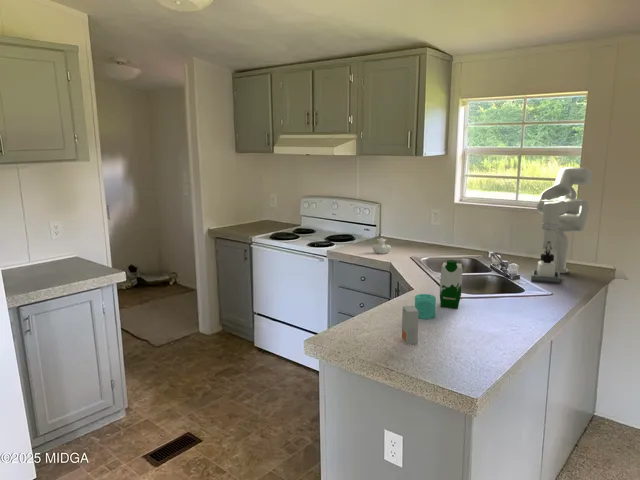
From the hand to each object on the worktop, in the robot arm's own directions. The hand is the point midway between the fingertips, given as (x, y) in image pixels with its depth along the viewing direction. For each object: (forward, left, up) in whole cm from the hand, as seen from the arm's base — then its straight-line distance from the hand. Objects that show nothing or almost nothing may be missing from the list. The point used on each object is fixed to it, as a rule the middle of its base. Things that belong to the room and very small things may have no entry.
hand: (547, 260), depth 245 cm
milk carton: (+62, -37, -10) cm, 73 cm away
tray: (0, 0, -10) cm, 10 cm away
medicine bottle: (0, 0, -9) cm, 9 cm away
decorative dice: (+79, -44, -10) cm, 91 cm away
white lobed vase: (-25, -95, -10) cm, 99 cm away
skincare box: (+107, -43, -10) cm, 116 cm away
